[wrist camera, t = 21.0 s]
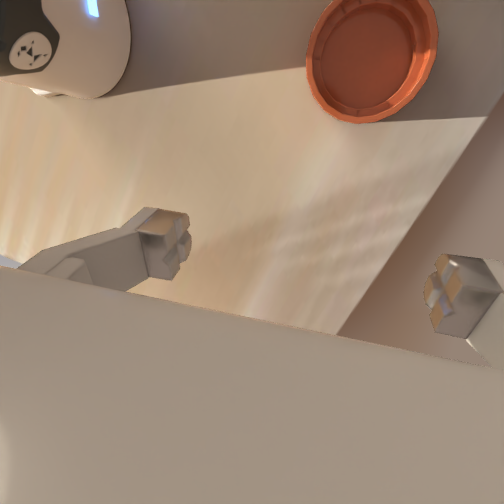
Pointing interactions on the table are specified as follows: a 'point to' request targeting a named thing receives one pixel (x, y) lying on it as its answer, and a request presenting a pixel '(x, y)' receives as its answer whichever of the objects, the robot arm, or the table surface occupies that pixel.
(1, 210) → the table surface
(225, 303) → the table surface
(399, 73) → the dish
